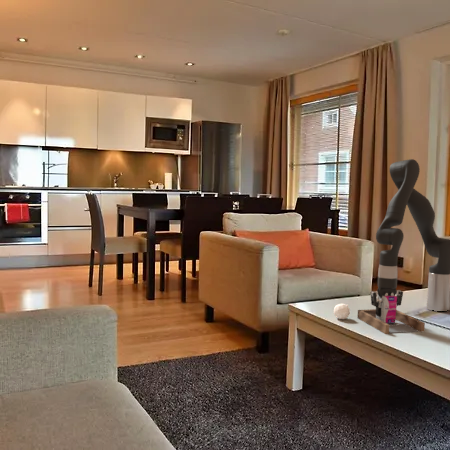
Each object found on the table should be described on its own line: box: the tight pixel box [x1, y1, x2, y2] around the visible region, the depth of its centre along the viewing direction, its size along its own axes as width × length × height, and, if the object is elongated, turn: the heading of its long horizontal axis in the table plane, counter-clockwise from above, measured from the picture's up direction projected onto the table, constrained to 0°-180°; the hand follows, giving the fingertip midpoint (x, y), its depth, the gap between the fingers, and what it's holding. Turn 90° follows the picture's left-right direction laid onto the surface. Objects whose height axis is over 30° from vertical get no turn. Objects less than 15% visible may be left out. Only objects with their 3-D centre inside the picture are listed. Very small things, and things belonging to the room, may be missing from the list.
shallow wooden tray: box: [357, 308, 426, 335], centre depth 193 cm, size 22×17×4 cm
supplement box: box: [376, 294, 397, 324], centre depth 195 cm, size 6×6×12 cm
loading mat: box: [389, 323, 419, 334], centre depth 187 cm, size 9×12×1 cm
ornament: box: [333, 303, 351, 320], centre depth 199 cm, size 6×7×7 cm
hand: (385, 315), depth 196 cm, fingers closed on supplement box, 6 cm apart
